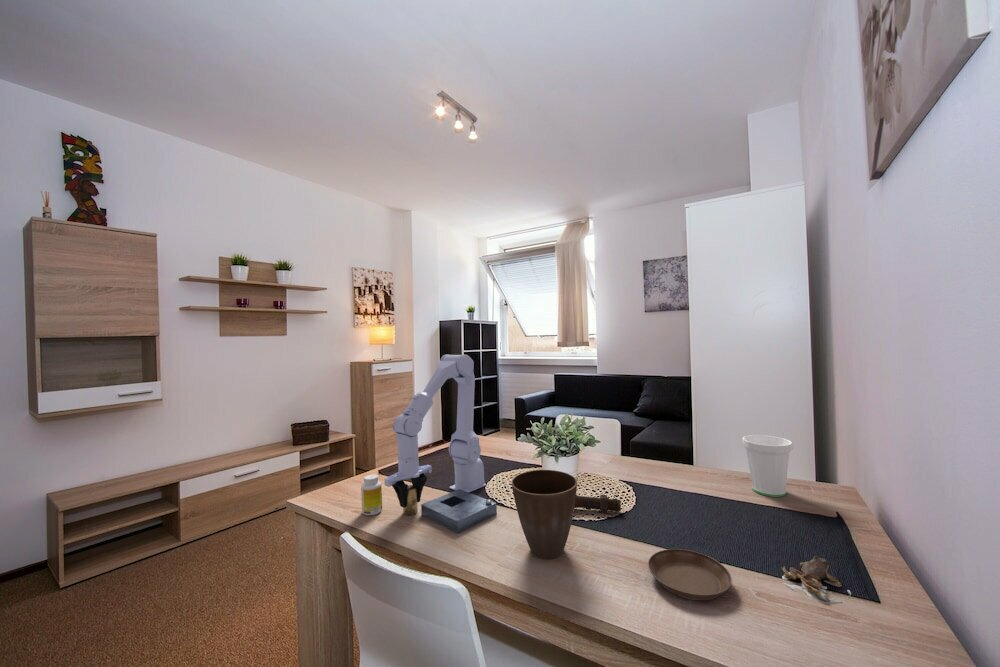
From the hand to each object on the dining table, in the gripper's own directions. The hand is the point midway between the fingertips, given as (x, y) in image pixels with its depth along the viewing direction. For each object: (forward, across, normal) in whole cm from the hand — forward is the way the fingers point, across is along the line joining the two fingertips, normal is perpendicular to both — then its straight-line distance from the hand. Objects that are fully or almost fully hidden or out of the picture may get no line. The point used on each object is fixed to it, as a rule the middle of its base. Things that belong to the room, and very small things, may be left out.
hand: (410, 503), depth 114 cm
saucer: (+3, +18, -70) cm, 72 cm away
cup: (+3, +77, -73) cm, 106 cm away
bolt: (+3, +33, -40) cm, 52 cm away
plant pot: (+3, +9, -42) cm, 43 cm away
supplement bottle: (+3, -7, +9) cm, 12 cm away
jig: (+2, +8, -12) cm, 15 cm away
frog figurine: (+3, +33, -88) cm, 94 cm away
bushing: (+2, 0, 0) cm, 2 cm away
